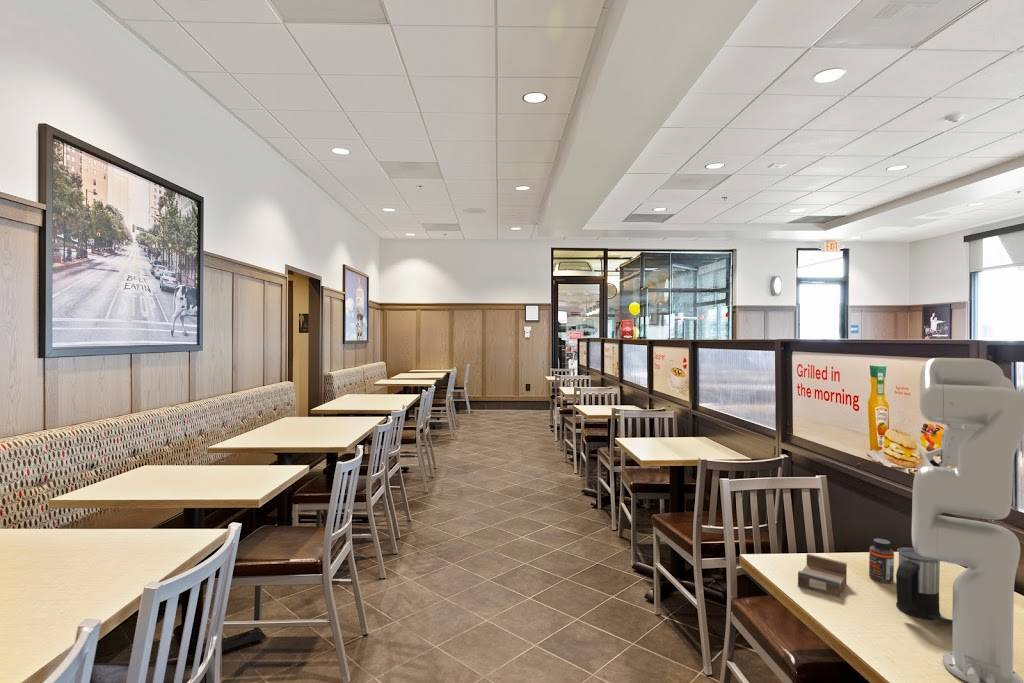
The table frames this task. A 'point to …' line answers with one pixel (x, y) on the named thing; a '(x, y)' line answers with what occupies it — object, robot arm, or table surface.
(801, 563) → the table surface
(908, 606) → the milk frother
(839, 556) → the table surface
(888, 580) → the supplement bottle
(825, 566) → the shelf
